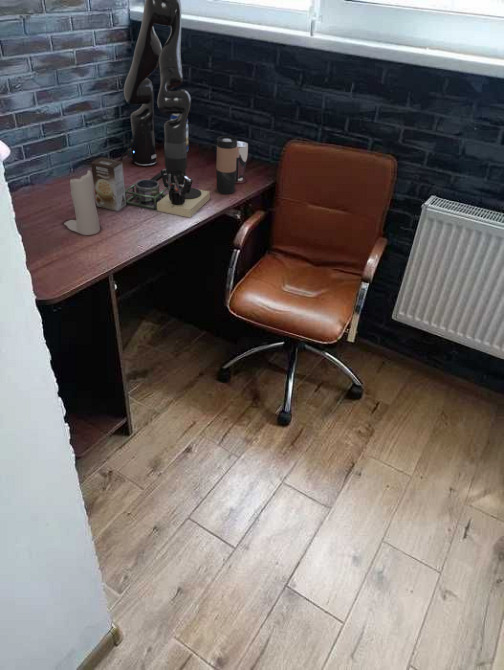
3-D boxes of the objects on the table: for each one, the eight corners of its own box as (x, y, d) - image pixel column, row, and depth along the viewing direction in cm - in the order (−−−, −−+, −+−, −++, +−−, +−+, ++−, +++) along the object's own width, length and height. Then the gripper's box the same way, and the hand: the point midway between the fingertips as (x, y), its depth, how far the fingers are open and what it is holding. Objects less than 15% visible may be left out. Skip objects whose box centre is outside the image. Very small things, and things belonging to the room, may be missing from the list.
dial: (182, 205, 177) (182, 192, 174) (171, 205, 176) (170, 192, 174) (182, 200, 180) (182, 188, 177) (171, 200, 180) (171, 187, 177)
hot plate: (188, 218, 176) (188, 210, 174) (155, 211, 178) (155, 203, 176) (209, 199, 190) (209, 191, 188) (178, 192, 193) (178, 184, 191)
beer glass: (247, 178, 209) (249, 141, 199) (245, 184, 203) (247, 147, 194) (231, 176, 209) (232, 140, 200) (228, 182, 204) (230, 145, 194)
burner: (169, 196, 183) (169, 194, 182) (181, 186, 190) (181, 185, 190) (194, 201, 181) (194, 200, 180) (205, 191, 188) (205, 190, 188)
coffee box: (95, 206, 179) (89, 162, 169) (105, 200, 184) (99, 156, 174) (118, 211, 177) (113, 167, 167) (127, 204, 182) (123, 161, 172)
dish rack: (124, 203, 182) (123, 191, 179) (141, 191, 192) (140, 179, 189) (155, 210, 180) (155, 197, 176) (171, 197, 189) (171, 185, 186)
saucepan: (132, 202, 183) (131, 185, 179) (153, 187, 196) (152, 170, 192) (153, 206, 182) (152, 189, 178) (172, 191, 194) (172, 174, 190)
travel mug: (238, 189, 199) (240, 138, 187) (229, 195, 193) (231, 143, 181) (221, 185, 201) (222, 134, 189) (212, 191, 196) (213, 139, 183)
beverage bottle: (185, 146, 235) (184, 101, 223) (191, 152, 229) (190, 106, 217) (168, 148, 232) (166, 102, 220) (174, 154, 226) (172, 107, 214)
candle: (74, 217, 171) (64, 159, 158) (104, 229, 166) (96, 170, 153) (58, 225, 166) (46, 166, 154) (88, 237, 161) (79, 176, 148)
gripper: (152, 150, 168) (155, 199, 179) (182, 162, 162) (183, 211, 172) (169, 146, 173) (170, 193, 184) (198, 157, 167) (198, 205, 177)
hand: (177, 201), depth 178 cm, fingers closed on dial, 4 cm apart
